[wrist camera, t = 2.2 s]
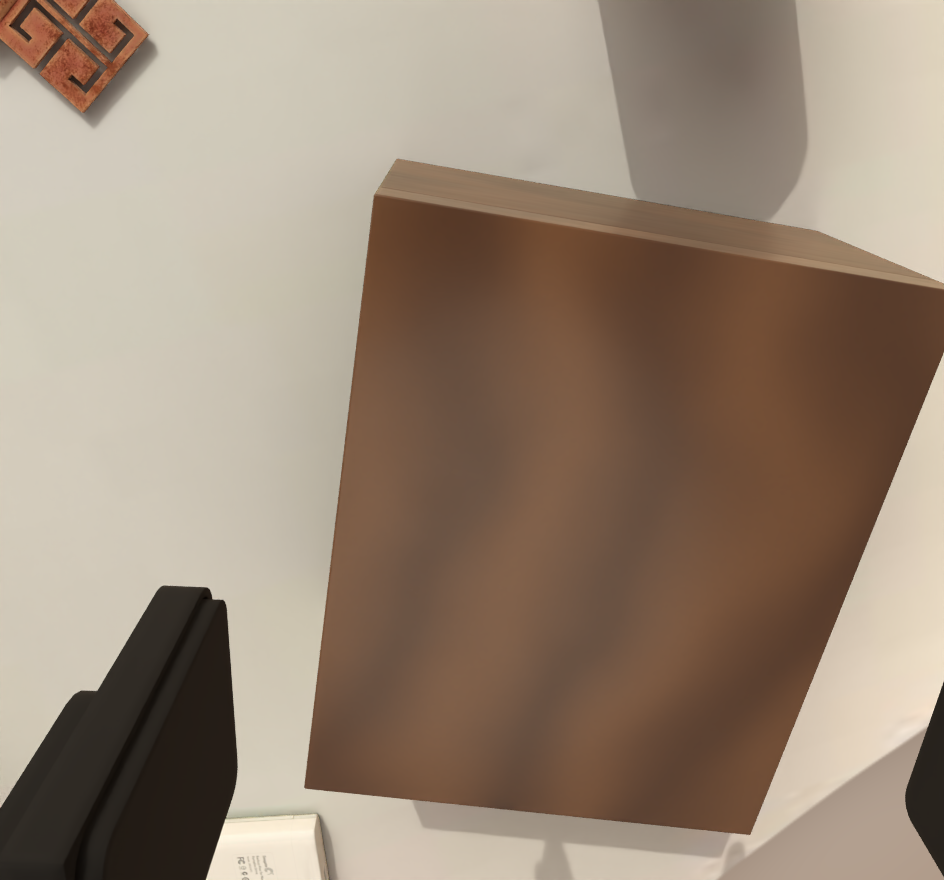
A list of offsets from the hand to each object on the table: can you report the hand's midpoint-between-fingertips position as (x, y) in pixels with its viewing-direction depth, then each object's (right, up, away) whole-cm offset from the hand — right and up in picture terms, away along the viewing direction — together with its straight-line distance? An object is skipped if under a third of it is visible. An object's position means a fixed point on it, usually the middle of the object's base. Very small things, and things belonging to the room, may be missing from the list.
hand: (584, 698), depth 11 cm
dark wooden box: (+2, +3, +24) cm, 24 cm away
